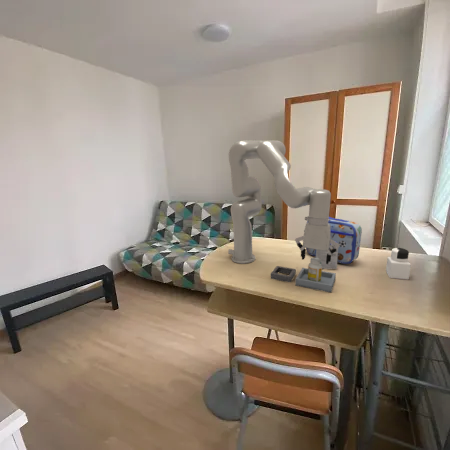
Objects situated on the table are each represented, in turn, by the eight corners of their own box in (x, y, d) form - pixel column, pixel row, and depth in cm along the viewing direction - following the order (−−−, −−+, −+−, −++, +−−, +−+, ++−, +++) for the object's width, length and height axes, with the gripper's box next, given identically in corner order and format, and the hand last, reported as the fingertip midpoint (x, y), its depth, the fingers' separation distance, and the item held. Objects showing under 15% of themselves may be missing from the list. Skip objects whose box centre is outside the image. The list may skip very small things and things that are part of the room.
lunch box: (300, 254, 142) (301, 214, 136) (310, 249, 148) (312, 211, 143) (352, 268, 122) (356, 223, 116) (361, 261, 129) (365, 218, 123)
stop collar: (270, 278, 116) (270, 273, 115) (276, 270, 123) (276, 265, 123) (290, 282, 111) (290, 277, 111) (295, 274, 119) (296, 269, 118)
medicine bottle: (404, 272, 116) (407, 247, 113) (409, 279, 109) (413, 253, 106) (385, 270, 118) (388, 245, 115) (389, 278, 112) (392, 251, 108)
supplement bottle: (310, 284, 108) (311, 262, 105) (305, 278, 113) (306, 257, 111) (323, 282, 108) (324, 261, 106) (317, 277, 113) (318, 256, 111)
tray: (295, 285, 109) (295, 278, 108) (302, 273, 119) (302, 267, 118) (331, 292, 102) (331, 285, 101) (335, 279, 112) (335, 273, 111)
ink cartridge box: (335, 264, 127) (337, 236, 123) (337, 269, 122) (339, 240, 118) (313, 264, 129) (315, 236, 125) (315, 268, 124) (316, 239, 120)
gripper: (294, 220, 105) (292, 260, 109) (340, 225, 96) (336, 268, 101) (298, 216, 111) (296, 253, 116) (343, 221, 103) (338, 261, 108)
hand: (315, 260), depth 108 cm, fingers open, 9 cm apart
